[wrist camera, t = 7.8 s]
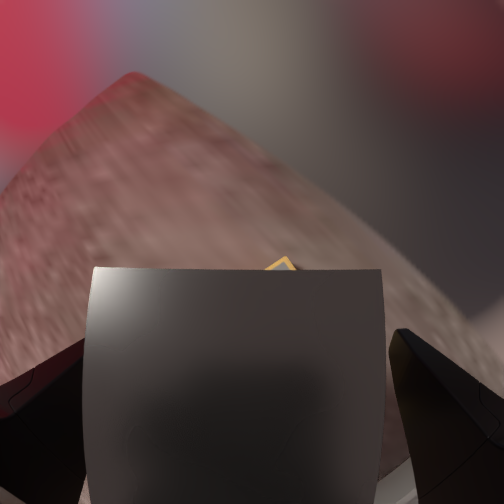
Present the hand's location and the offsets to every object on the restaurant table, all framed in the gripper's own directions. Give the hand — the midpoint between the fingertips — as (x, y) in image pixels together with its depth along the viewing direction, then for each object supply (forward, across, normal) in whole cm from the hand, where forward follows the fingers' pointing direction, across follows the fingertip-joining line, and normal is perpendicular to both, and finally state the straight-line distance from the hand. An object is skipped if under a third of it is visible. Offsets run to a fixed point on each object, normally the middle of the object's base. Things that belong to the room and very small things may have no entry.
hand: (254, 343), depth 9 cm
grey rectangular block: (+4, 0, +6) cm, 8 cm away
